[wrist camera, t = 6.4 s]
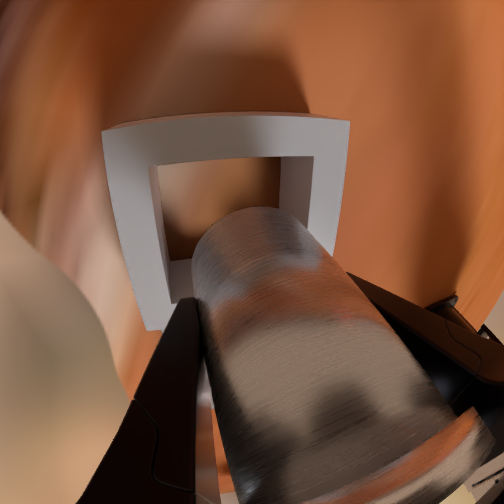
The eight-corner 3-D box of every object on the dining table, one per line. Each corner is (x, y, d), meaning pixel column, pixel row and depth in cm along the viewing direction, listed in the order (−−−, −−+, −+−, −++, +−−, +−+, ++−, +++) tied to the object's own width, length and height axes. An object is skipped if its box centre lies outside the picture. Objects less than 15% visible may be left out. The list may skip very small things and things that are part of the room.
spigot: (327, 192, 8) (537, 394, 2) (310, 305, 11) (413, 482, 4) (172, 205, 7) (227, 588, 1) (191, 326, 10) (242, 550, 3)
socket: (310, 113, 12) (349, 121, 9) (294, 296, 18) (315, 333, 15) (121, 123, 10) (101, 131, 7) (157, 317, 16) (158, 361, 13)
